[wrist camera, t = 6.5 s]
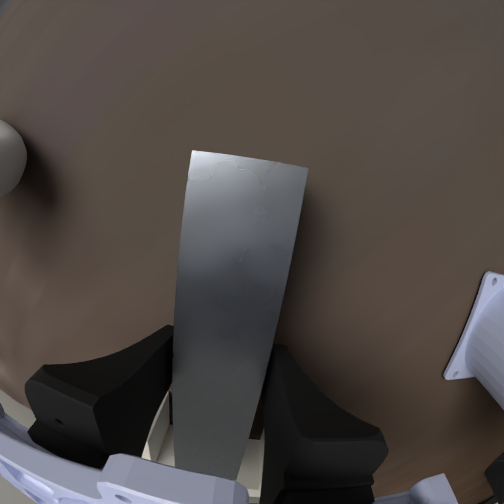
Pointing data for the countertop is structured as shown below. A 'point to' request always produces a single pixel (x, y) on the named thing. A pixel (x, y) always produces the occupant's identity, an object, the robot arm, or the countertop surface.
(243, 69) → the countertop surface
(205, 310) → the rail
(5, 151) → the donut
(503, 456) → the travel mug
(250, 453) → the cream u-shaped cradle
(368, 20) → the countertop surface
